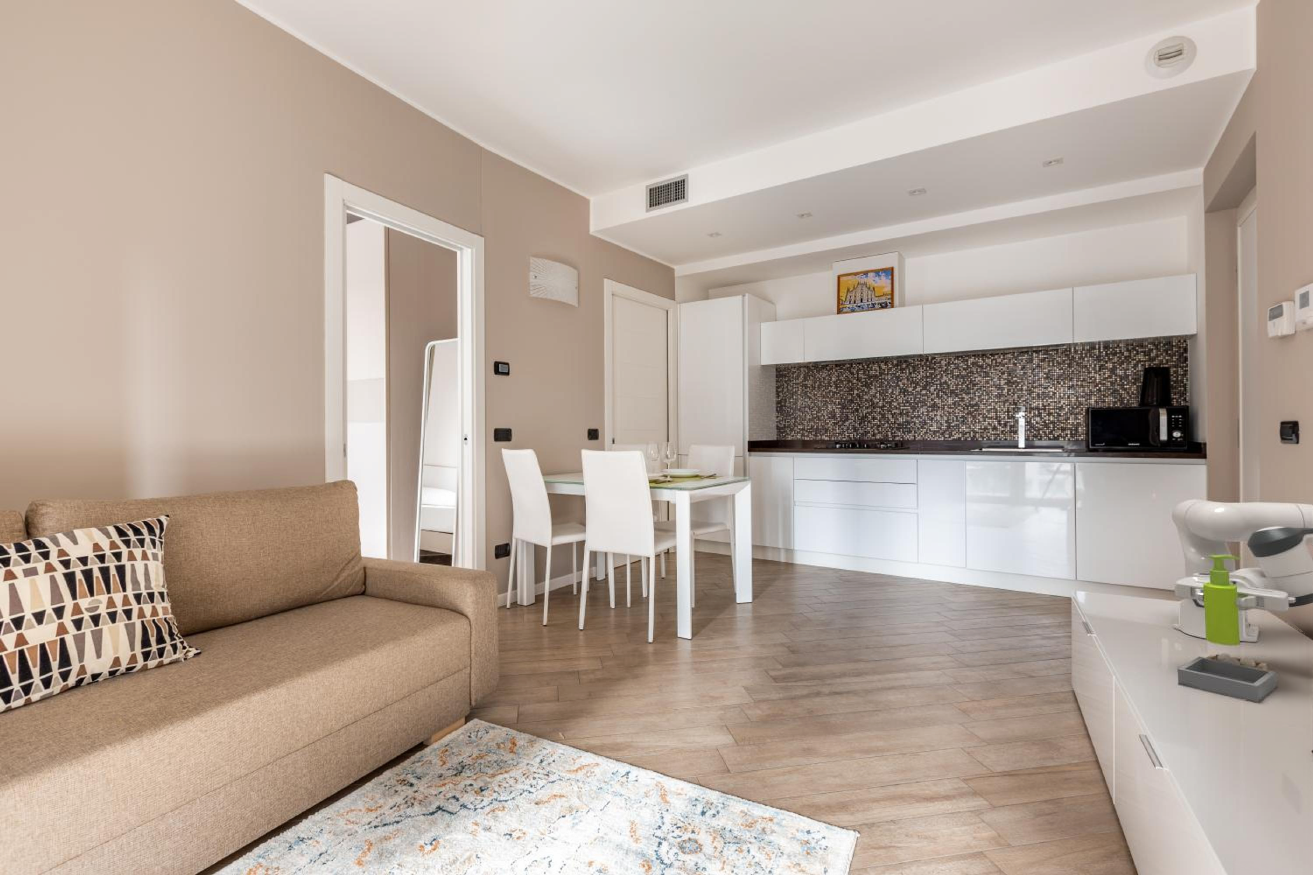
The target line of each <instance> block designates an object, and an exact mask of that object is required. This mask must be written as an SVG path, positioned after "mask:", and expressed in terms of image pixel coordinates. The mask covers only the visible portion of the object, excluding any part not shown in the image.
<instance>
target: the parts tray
mask: <svg viewBox="0 0 1313 875" xmlns="http://www.w3.org/2000/svg"><path fill="white" fill-rule="evenodd" d="M1218 655H1219V653H1218V654H1217V653H1216V652H1215V653H1212V654H1210V655H1208V656H1206V657H1205V658H1209V659H1214V660H1218V659H1217V657H1218ZM1231 657H1232V658H1235V659H1237V660H1238V661H1240V660H1241V659H1242V658H1240V657H1234V656H1231ZM1253 661H1254V662H1255V664H1256V667H1255V668H1259V669H1264V670H1268V669H1267V666H1268V665H1267V662H1266V663H1265V662H1260V661H1255V660H1253Z"/></svg>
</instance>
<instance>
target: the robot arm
mask: <svg viewBox="0 0 1313 875" xmlns="http://www.w3.org/2000/svg"><path fill="white" fill-rule="evenodd" d="M1171 518H1172V521H1173V523H1174V524H1175V526H1176V527H1175V528H1176V529H1177V534H1178V537H1179V541H1180V544H1181V548H1182V552H1183V557H1184V566H1185V569H1184V570H1185V577H1183V578H1180V579H1177V581H1175V582H1174V594H1175V596H1176V597H1178V598H1182V599H1181V600H1180V601H1179V605H1178V607H1179V608H1178V610H1179V611H1178V622H1176V623H1173V624H1172V626H1173V627H1172V628H1174V629H1175V630H1179V631H1181V632H1183V633H1184V634H1187V635H1189V636H1193V637H1197V638H1201V639H1206V630H1205V609H1204V589H1203V583H1207V582H1210V569H1212V568H1214V559H1211V558H1209V556H1210V555H1231V556H1233V555H1232V553H1231V551H1230V549H1229V546H1228V543H1227V542H1231V543H1233V542H1235V543H1236V542H1237V543H1238V542H1246V543H1247V544H1246V545H1247V547H1248V548H1249V550H1250V552H1251V553H1252V554H1253V556H1254V557H1255V559H1256V561H1257V563H1258V565H1259V567H1245V568H1240V569H1237V570H1236V561H1235V559H1223V561H1224V569H1226V570H1228V571H1229V583H1230V584H1232V585H1235V586H1237V598H1236V599H1235V601H1236V606H1238V617H1239V637H1240V642H1250V643H1256V642H1258V641H1259V640H1258V639H1259V634H1260V629H1259V627H1257V626H1255V625H1251V623H1250V622H1249V617H1248V616H1249V614H1248V611H1249V610H1253V609H1258V610H1264V611H1265V610H1266V611H1271V612H1277V613H1278V612H1279V613H1281V612H1282V613H1283V612H1287V611H1288V610H1289V608H1296V607H1303V606H1306V605H1307V606H1308V605H1310V604H1313V556H1312V555H1311V552H1310V551H1309V548H1308V546H1312V547H1313V504H1309V503H1298V502H1297V503H1296V502H1264V501H1263V502H1262V501H1260V502H1259V501H1258V502H1257V501H1254V502H1221V501H1212V500H1205V499H1199V498H1192V499H1188V500H1184V501H1181V502H1179V503H1178V504H1176V505H1175V506H1174V507H1173V509H1172V512H1171Z"/></svg>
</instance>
